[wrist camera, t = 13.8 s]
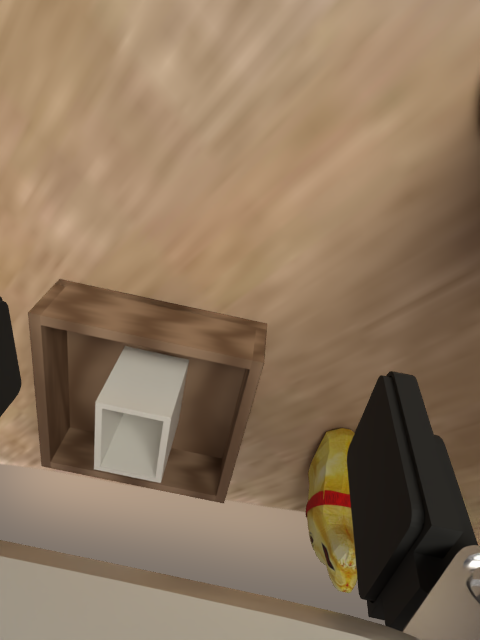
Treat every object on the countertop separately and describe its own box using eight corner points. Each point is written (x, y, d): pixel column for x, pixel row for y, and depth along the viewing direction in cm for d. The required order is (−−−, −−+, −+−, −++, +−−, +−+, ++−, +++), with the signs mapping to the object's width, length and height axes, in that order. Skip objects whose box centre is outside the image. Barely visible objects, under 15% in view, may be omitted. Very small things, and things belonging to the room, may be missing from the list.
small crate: (189, 359, 44) (171, 417, 38) (178, 421, 49) (160, 483, 43) (125, 345, 44) (95, 401, 37) (120, 409, 49) (93, 469, 42)
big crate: (267, 323, 42) (264, 362, 37) (230, 458, 53) (223, 503, 48) (59, 279, 42) (28, 312, 37) (65, 424, 53) (41, 466, 48)
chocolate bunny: (295, 480, 54) (297, 614, 42) (323, 418, 48) (335, 553, 36) (350, 492, 54) (367, 629, 42) (384, 431, 48) (417, 571, 36)
